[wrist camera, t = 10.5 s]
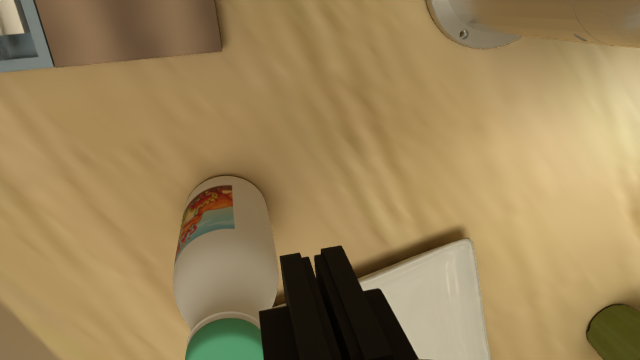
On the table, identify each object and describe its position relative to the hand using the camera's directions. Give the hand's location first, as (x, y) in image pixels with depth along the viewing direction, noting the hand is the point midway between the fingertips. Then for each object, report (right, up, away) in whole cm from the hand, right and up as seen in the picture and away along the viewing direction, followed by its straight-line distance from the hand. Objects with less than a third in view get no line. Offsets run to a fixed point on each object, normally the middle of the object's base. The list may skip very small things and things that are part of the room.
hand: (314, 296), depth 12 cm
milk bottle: (-9, 0, +30) cm, 32 cm away
